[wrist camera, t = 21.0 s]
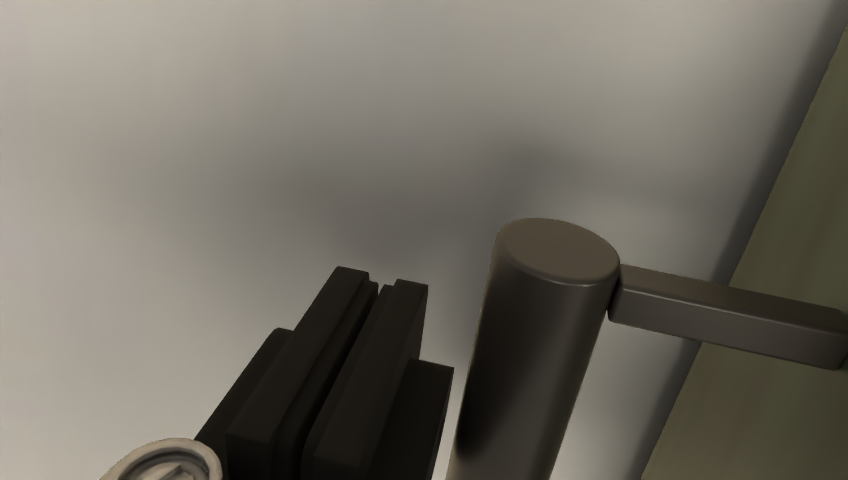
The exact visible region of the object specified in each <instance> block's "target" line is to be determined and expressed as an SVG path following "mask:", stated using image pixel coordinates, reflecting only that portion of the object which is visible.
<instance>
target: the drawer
mask: <svg viewBox="0 0 848 480" xmlns="http://www.w3.org/2000/svg"><path fill="white" fill-rule="evenodd" d="M606 311H607V313H608V319H609V320H610V321H611V322H614V323H618V324H623V325H627V326H632V327H636V328H641V329H646V330H650V331H655V332H659V333H664V334H668V335H673V336H677V337H682V338H686V339H691V340H695V341H700V342H702V345H701V347H700V349H699V351H698V353H697V356H696V358H695V360H694V362H693V364H692V367H691V369H690V371H689V373H688V375H687V378H686V380H685V382H684V384H683V386H682V389H681V391H680V393H679V395H678V397H677V399H676V402H675V404H674V406H673V408H672V410H671V413H670V415H669V417H668V419H667V421H666V424H665V426H664V428H663V430H662V432H661V435H660V437H659V439H658V441H657V443H656V446H655V448H654V450H653V452H652V454H651V457H650V459H649V461H648V463H647V465H646V468H645V470H644V472H643V474H642V476H641V479H640V480H848V24H847V26H846V29H845V31H844V33H843V35H842V37H841V40H840V42H839V44H838V46H837V48H836V50H835V53H834V55H833V57H832V59H831V61H830V64H829V66H828V68H827V70H826V72H825V75H824V77H823V79H822V81H821V83H820V86H819V88H818V90H817V92H816V94H815V97H814V99H813V101H812V103H811V105H810V108H809V110H808V112H807V114H806V116H805V119H804V121H803V123H802V125H801V127H800V130H799V132H798V134H797V136H796V138H795V140H794V143H793V145H792V147H791V149H790V151H789V154H788V156H787V158H786V160H785V162H784V165H783V167H782V169H781V171H780V173H779V176H778V178H777V180H776V182H775V184H774V187H773V189H772V191H771V193H770V195H769V198H768V200H767V202H766V204H765V206H764V209H763V211H762V213H761V215H760V217H759V220H758V222H757V224H756V226H755V228H754V230H753V233H752V235H751V237H750V239H749V241H748V244H747V246H746V248H745V250H744V252H743V255H742V257H741V259H740V261H739V263H738V266H737V268H736V270H735V272H734V274H733V277H732V279H731V281H730V283H729V285H728V286H726V285H721V284H717V283H712V282H707V281H702V280H697V279H693V278H688V277H683V276H678V275H673V274H669V273H664V272H659V271H654V270H649V269H645V268H640V267H635V266H630V265H625V264H621V263H620V258H619V255H618V253H617V251H616V250H615V249H614V248H613V247H612V245H611V244H610V243H608V242H607V241H606V240H605V239H603V238H602V237H600V236H599V235H597V234H595V233H593V232H591V231H589V230H587V229H585V228H583V227H580V226H577V225H574V224H571V223H568V222H564V221H559V220H554V219H546V218H526V219H519V220H515V221H512V222H510V223H508V224H506V225H504V226H503V227H502V228H501V229H500V231H499V232H498V233H497V235H496V238H495V242H494V247H493V252H492V257H491V261H490V266H489V271H488V276H487V281H486V286H485V291H484V295H483V300H482V305H481V310H480V315H479V320H478V324H477V329H476V334H475V339H474V344H473V349H472V354H471V358H470V363H469V368H468V373H467V378H466V383H465V387H464V392H463V397H462V402H461V407H460V412H459V417H458V421H457V426H456V431H455V436H454V441H453V446H452V450H451V455H450V460H449V465H448V470H447V475H446V480H549V479H550V476H551V473H552V470H553V467H554V464H555V461H556V458H557V455H558V453H559V450H560V447H561V444H562V441H563V438H564V435H565V432H566V429H567V426H568V423H569V420H570V417H571V414H572V411H573V408H574V405H575V402H576V400H577V397H578V394H579V391H580V388H581V385H582V382H583V379H584V376H585V373H586V370H587V367H588V364H589V361H590V358H591V355H592V352H593V349H594V346H595V344H596V341H597V338H598V335H599V332H600V329H601V326H602V323H603V320H604V317H605V314H606Z"/></svg>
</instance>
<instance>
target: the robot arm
mask: <svg viewBox="0 0 848 480" xmlns="http://www.w3.org/2000/svg"><path fill="white" fill-rule="evenodd" d="M369 280H370V277H369V273H368V272H365V271H360V270H356V269H351V268H346V267H341V266H337V267H336V268H335V270H334V271H333V273H332V274H331V276H330V277H329V279H328V280H327V282H326V283H325V285H324V286H323V287H322V289H321V290H320V292H319V293H318V295H317V296H316V298H315V299H314V301H313V302H312V304H311V305H310V307H309V308H308V310H307V311H306V313H305V314H304V316H303V317H302V319H301V320H300V322H299V323H298V325H297V326H296V328H295V329H294V331H292V330H288V329H283V328H277V329H274V330H273V332H272V333H271V334H270V335H269V336H268V337H267V339H266V340H265V342H264V343H263V344H262V346H261V347H260V349H259V350H258V351H257V353H256V354H255V355H254V357H253V358H252V360H251V361H250V362H249V364H248V365H247V367H246V368H245V369H244V371H243V372H242V373H241V375H240V376H239V378H238V379H237V380H236V382H235V383H234V384H233V386H232V387H231V389H230V390H229V391H228V393H227V394H226V396H225V397H224V398H223V400H222V401H221V402H220V404H219V405H218V407H217V408H216V409H215V411H214V412H213V414H212V415H211V416H210V418H209V419H208V420H207V422H206V423H205V425H204V426H203V427H202V429H201V430H200V431H199V433H198V434H197V436H196V437H195V438H194V440H190V439H187V438H168V439H164V440H159V441H155V442H151V443H148V444H146V445H144V446H142V447H140V448H138V449H135V450H133V451H132V452H130V453H129V454H128V455H126V456H125V457H124V458H122V459H121V460H120V461H119V462H117V463H116V464H115V465H114V466H113V467H112V468H111V469H110V470H109V471H108V472H107V473H106V474H105V475H104V476H102V477H101V478H100V479H99V480H431V479H432V475H433V471H434V466H435V462H436V458H437V454H438V450H439V445H440V441H441V437H442V432H443V428H444V423H445V418H446V413H447V408H448V402H449V397H450V391H451V386H452V380H453V374H454V367H449V366H445V365H440V364H436V363H432V362H427V361H423V360H419V356H420V349H421V341H422V334H423V326H424V319H425V312H426V304H427V297H428V285H426V284H422V283H417V282H412V281H407V280H402V279H397V280H396V282H395V284H394V286H391V285H387V284H384V285H383V287H382V289H381V291H380V293H379V295H378V290H379V285H378V282H373V281H369Z"/></svg>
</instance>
